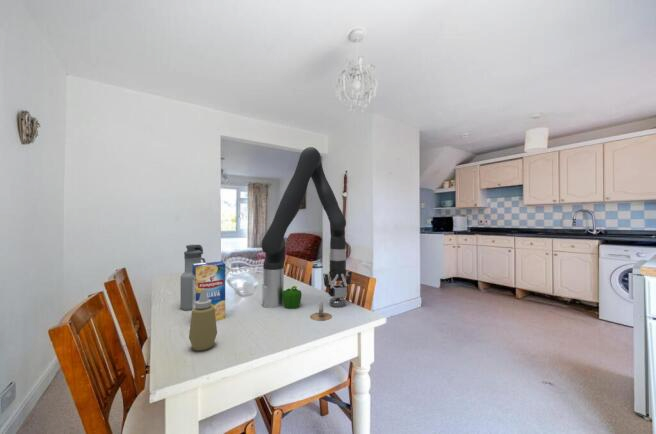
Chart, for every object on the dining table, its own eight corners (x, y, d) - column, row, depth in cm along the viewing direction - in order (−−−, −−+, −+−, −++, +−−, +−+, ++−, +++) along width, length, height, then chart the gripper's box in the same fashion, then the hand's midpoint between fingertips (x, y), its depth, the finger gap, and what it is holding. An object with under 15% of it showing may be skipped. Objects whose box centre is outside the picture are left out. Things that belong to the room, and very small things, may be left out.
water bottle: (189, 302, 126) (189, 243, 125) (209, 303, 125) (209, 243, 125) (175, 310, 115) (175, 246, 115) (196, 311, 115) (196, 246, 114)
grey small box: (334, 298, 118) (334, 289, 118) (328, 294, 123) (329, 285, 123) (346, 296, 120) (346, 287, 120) (340, 292, 126) (340, 284, 126)
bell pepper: (279, 306, 120) (279, 284, 120) (295, 303, 125) (295, 282, 125) (287, 312, 113) (288, 289, 113) (304, 308, 118) (304, 286, 118)
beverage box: (192, 319, 106) (192, 264, 106) (220, 313, 112) (221, 261, 112) (195, 324, 100) (195, 266, 100) (225, 318, 107) (225, 263, 107)
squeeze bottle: (195, 341, 87) (195, 286, 87) (220, 340, 88) (220, 286, 88) (184, 353, 79) (184, 293, 79) (212, 352, 80) (212, 293, 80)
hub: (331, 311, 115) (332, 292, 115) (323, 304, 124) (323, 287, 124) (352, 308, 119) (352, 290, 119) (342, 301, 128) (342, 284, 128)
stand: (314, 323, 102) (314, 308, 102) (307, 315, 110) (307, 301, 110) (335, 320, 105) (335, 305, 105) (327, 312, 114) (327, 298, 113)
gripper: (347, 256, 128) (347, 291, 128) (320, 258, 122) (319, 294, 122) (355, 258, 121) (355, 295, 121) (327, 261, 115) (327, 299, 115)
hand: (337, 295), depth 122 cm, fingers closed on grey small box, 6 cm apart
